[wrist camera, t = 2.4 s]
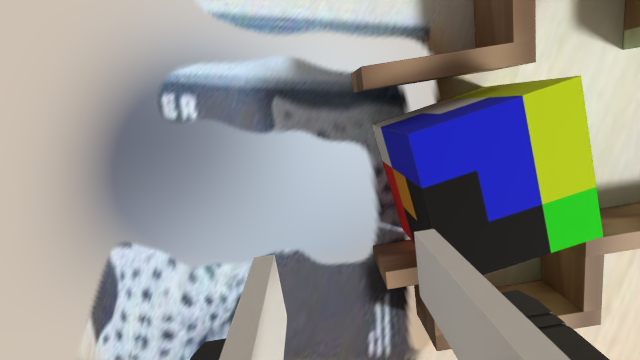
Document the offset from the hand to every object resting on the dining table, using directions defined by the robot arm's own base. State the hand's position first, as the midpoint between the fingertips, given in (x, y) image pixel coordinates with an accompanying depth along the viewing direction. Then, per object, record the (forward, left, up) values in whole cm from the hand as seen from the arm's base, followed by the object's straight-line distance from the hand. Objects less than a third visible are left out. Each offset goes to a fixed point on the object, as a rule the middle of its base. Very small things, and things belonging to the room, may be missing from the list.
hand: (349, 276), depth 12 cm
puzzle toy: (+11, 0, -17) cm, 20 cm away
